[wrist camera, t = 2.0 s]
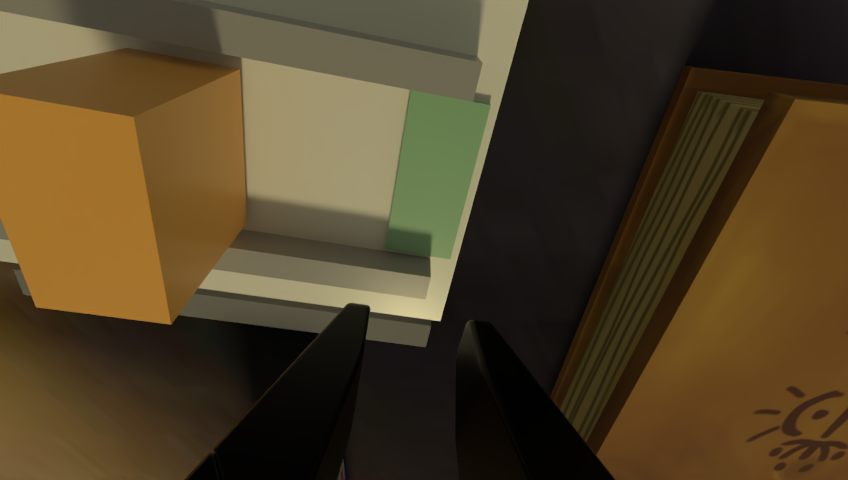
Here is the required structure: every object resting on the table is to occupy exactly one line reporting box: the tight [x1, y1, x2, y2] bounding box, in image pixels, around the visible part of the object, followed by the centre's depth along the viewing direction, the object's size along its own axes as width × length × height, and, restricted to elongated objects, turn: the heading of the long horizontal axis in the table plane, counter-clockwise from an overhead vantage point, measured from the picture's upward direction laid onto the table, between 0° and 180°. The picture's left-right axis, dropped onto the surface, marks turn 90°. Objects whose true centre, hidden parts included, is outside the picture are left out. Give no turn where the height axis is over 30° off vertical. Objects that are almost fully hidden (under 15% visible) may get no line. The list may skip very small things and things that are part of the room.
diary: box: [550, 66, 848, 480], centre depth 19 cm, size 23×19×6 cm
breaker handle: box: [0, 48, 247, 324], centre depth 11 cm, size 3×5×5 cm, turn 169°
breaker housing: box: [0, 0, 529, 321], centre depth 14 cm, size 18×12×4 cm, turn 79°
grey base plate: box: [13, 266, 431, 347], centre depth 15 cm, size 18×18×1 cm
